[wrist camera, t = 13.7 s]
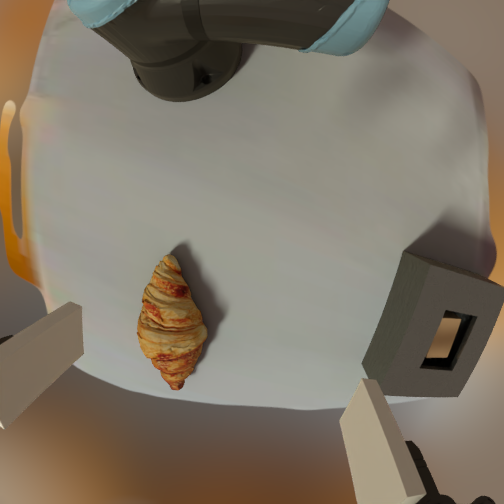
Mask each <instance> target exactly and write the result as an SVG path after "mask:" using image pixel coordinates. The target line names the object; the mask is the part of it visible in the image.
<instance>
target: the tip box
mask: <svg viewBox="0 0 504 504" xmlns="http://www.w3.org/2000/svg"><path fill="white" fill-rule="evenodd" d="M503 303H504V287H503V286H501V285H499V284H497V283H495V282H493V281H491V280H489V279H487V278H485V277H483V276H481V275H479V274H476V273H473V272H470V271H467V270H464V269H461V268H457V267H454V266H451V265H448V264H445V263H442V262H438V261H435V260H432V259H429V258H425V257H422V256H419V255H415V254H412V253H409V252H405V251H403V253H402V257H401V260H400V263H399V267H398V270H397V273H396V276H395V279H394V282H393V285H392V288H391V291H390V294H389V297H388V299H387V302H386V305H385V308H384V310H383V313H382V316H381V318H380V321H379V323H378V326H377V328H376V331H375V333H374V336H373V338H372V341H371V343H370V345H369V348H368V350H367V352H366V355H365V357H364V359H363V361H362V365H363V368H364V370H365V372H366V374H367V376H368V379H373V380H377V382H378V384H379V386H380V388H381V391H382V393H383V395H388V396H407V397H458V396H459V394H460V393H461V391H462V389H463V388H464V386H465V384H466V382H467V381H468V379H469V377H470V375H471V373H472V372H473V370H474V368H475V366H476V364H477V362H478V360H479V358H480V356H481V354H482V352H483V350H484V348H485V346H486V344H487V341H488V339H489V337H490V335H491V333H492V330H493V328H494V326H495V323H496V321H497V318H498V316H499V313H500V310H501V308H502V305H503ZM446 310H449V311H452V312H453V313H454V314H456V315H457V316H458V317H460V318H461V322H460V325H459V328H458V331H457V333H456V336H455V339H454V341H453V344H452V347H451V349H450V352H449V354H448V357H447V358H426V357H425V356H426V354H427V352H428V350H429V348H430V346H431V344H432V341H433V339H434V337H435V335H436V332H437V330H438V328H439V325H440V323H441V321H442V318H443V316H444V313H445V311H446Z"/></svg>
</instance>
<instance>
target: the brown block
mask: <svg viewBox="0 0 504 504" xmlns="http://www.w3.org/2000/svg"><path fill="white" fill-rule="evenodd" d="M460 322H461V318H460V317H458V316H457V315H456V314H454V313H453V312H452V311H449V310H446V311H445V313H444V316H443V318H442V321H441V323H440V325H439V328H438V330H437V332H436V335H435V337H434V339H433V341H432V344H431V346H430V348H429V350H428V352H427V354H426V356H425V357H426V358H447V357H448V354H449V352H450V349H451V347H452V344H453V341H454V339H455V336H456V333H457V331H458V328H459V325H460Z"/></svg>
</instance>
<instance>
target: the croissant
mask: <svg viewBox="0 0 504 504" xmlns="http://www.w3.org/2000/svg"><path fill="white" fill-rule="evenodd" d="M181 272H182V271H181V268H180V266H179V263H178V261H177V259H176V258H175V257H174V256H172V255H170V254H168V255H166V256H164V258H163V260H162V261H160V262H159V265H158V266H156V267H155V270H154V272H153V276H152V278H151V281H150V283H149V284H148V285H147V286H146V288H145V290H144V294H143V299H142V300H143V301H142V303H143V307H142V310H141V313H140V316H139V319H138V326H137V330H138V332H137V335H138V339H139V343H140V347H141V349H142V351H143V353H144V355H145V356H146V357H147V358H150V359H151V361H152V364H153V365H154V367H155V368H157V369H158V370H161V371H160V372H161V376H162V377H163V379H164V380H165V381H166V382H167V383H168V384H169V385H170V387H171V389H172V390H180V389H181V388H182V387H183V385H184V383H185V379H186V378H187V377H188V376H189V375H190V374H191V373H192V371H193V369H194V365H195V364H196V362H197V358H198V357H199V356H200V354H201V351H202V345H203V342H204V341H205V340H206V338H207V328H206V327H205V325H204V324H203V322H202V320H203V318H202V315H201V311H200V310H198V309H197V307H196V305H195V303H194V301H193V300H192V299H191V292H190V290H189V286H188V285H187V284H186V282H185V281H184V279H183V278H182V274H181Z"/></svg>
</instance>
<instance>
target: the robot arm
mask: <svg viewBox="0 0 504 504" xmlns="http://www.w3.org/2000/svg"><path fill="white" fill-rule="evenodd" d="M67 2H68V6H69V8H70V10H71V11H72V12H73V13H74V14H75V15H76V16H77V17H78V18H79V19H80V20H81V21H82V23H83V25H84V26H85V27H87V28H91V29H92V30H93V31H95V32H96V33H97V34H99V35H100V36H101V37H103V38H104V39H105V40H107V41H108V42H109V43H110V44H112V45H113V46H114V47H116V48H117V49H118V50H119V51H121V52H122V53H123V54H124V55H126V56H127V57H128V58H129V59H130V61H131V64H132V66H133V70H134V73H135V76H136V78H137V80H138V82H139V83H140V84H141V85H142V87H143V88H145V89H146V90H147V91H148V92H150V93H151V94H152V95H154V96H156V97H158V98H160V99H162V100H166V101H172V102H186V101H191V100H196V99H199V98H202V97H204V96H206V95H209V94H211V93H212V92H214V91H216V90H217V89H219V88H220V87H221V86H222V85H224V84H225V83H226V82H227V81H228V80H229V79H230V78H231V76H232V75H233V74H234V72H235V71H236V69H237V67H238V65H239V62H240V60H241V55H242V44H241V43H250V44H260V45H269V46H277V47H284V48H290V49H296V50H298V51H299V52H303V53H308V52H318V53H324V54H329V55H335V56H347V55H350V54H352V53H354V52H356V51H358V50H359V49H361V48H362V47H363V46H364V45H365V44H366V43H367V42H368V40H369V39H370V38H371V36H372V35H373V33H374V32H375V30H376V29H377V27H378V25H379V23H380V21H381V19H382V17H383V15H384V13H385V11H386V8H387V6H388V3H389V0H67ZM83 354H84V349H83V331H82V306H80V305H77V304H75V303H73V302H68V303H66V304H65V305H63V306H61V307H60V308H58V309H56V310H55V311H53V312H52V313H50V314H48V315H47V316H45V317H43V318H42V319H40V320H38V321H37V322H35V323H34V324H32V325H31V326H29V327H27V328H26V329H24V330H23V331H21V332H19V333H18V334H16V335H15V336H13V335H10V336H6V337H3V338H1V339H0V426H1V427H2V428H3V429H6V428H7V427H8V426H9V425H10V424H11V423H12V422H13V421H14V420H15V419H16V418H17V417H18V416H19V415H20V414H21V413H22V411H24V410H25V409H26V408H27V407H28V406H29V405H30V404H31V403H32V402H33V401H34V400H35V399H36V398H37V397H38V396H39V395H40V394H41V393H42V392H43V391H44V390H45V389H47V387H49V386H50V385H51V384H52V383H53V382H54V381H55V380H56V379H57V378H58V377H59V376H60V375H61V374H62V373H63V372H65V371H66V370H67V369H68V368H69V367H70V366H71V365H72V364H73V363H74V362H75V361H76V360H78V359H79V358H80V357H81V356H82V355H83ZM339 422H340V426H341V430H342V434H343V438H344V443H345V447H346V452H347V456H348V461H349V465H350V470H351V474H352V479H353V484H354V489H355V493H356V498H357V503H358V504H456V503H455V502H454V500H453V499H452V498H450V497H449V496H446V495H440V494H439V492H438V490H437V487H436V485H435V482H434V480H433V478H432V476H431V473H430V471H429V469H428V467H427V464H426V462H425V460H423V456H422V454H421V451H420V450H419V448H418V447H417V446H416V445H415V444H414V443H413V442H412V441H405V440H404V438H403V436H402V434H401V431H400V429H399V427H398V425H397V423H396V421H395V418H394V416H393V414H392V412H391V410H390V408H389V405H388V403H387V401H386V399H385V397H384V395H383V393H382V391H381V388H380V386H379V384H378V382H377V380H373V379H364V378H362V379H361V381H360V383H359V385H358V387H357V389H356V391H355V393H354V395H353V397H352V399H351V401H350V402H349V404H348V406H347V408H346V410H345V412H344V413H343V415H342V417H341V419H340V421H339ZM471 504H495V502H494V501H493V500H492V499H491V498H490V497H487V496H480V497H478V498H476V499H475V500H474V501H473V502H472V503H471Z"/></svg>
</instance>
